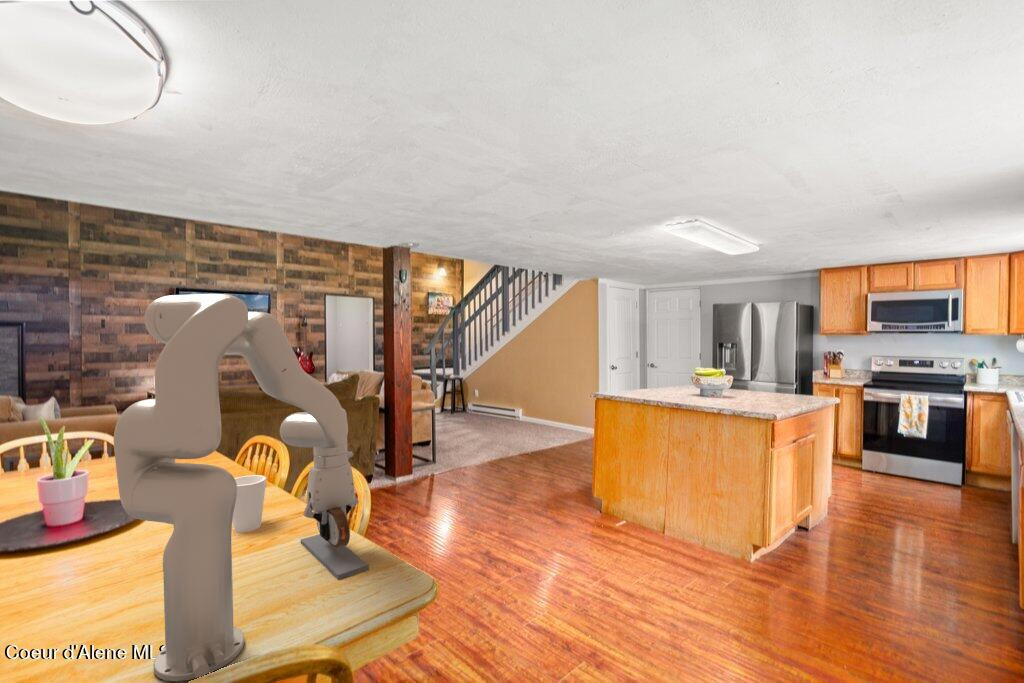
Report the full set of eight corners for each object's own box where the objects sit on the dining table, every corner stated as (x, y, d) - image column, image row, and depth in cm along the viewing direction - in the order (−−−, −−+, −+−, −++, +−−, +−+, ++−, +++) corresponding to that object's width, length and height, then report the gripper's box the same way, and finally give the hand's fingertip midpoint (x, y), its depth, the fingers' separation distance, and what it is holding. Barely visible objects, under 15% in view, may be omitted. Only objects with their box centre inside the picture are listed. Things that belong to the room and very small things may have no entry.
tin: (350, 550, 112) (351, 513, 112) (337, 553, 110) (337, 516, 110) (326, 529, 123) (327, 496, 123) (313, 532, 121) (314, 498, 121)
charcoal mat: (368, 569, 110) (368, 564, 110) (337, 579, 105) (337, 575, 105) (328, 535, 128) (328, 531, 128) (300, 543, 123) (300, 539, 123)
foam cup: (274, 524, 136) (273, 477, 135) (243, 537, 127) (242, 487, 127) (251, 518, 140) (250, 473, 139) (219, 531, 131) (218, 483, 131)
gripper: (357, 451, 124) (358, 522, 125) (289, 463, 113) (291, 541, 114) (370, 456, 118) (371, 531, 119) (300, 470, 108) (302, 552, 108)
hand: (332, 536), depth 117 cm, fingers closed on tin, 2 cm apart
